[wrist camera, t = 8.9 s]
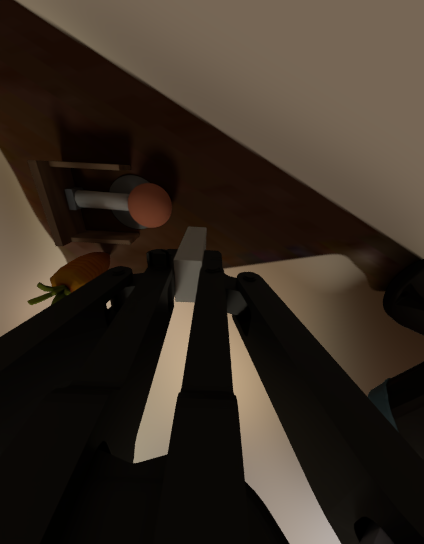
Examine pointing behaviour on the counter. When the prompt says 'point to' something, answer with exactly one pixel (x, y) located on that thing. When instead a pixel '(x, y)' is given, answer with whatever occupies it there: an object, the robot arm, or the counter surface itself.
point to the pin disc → (125, 187)
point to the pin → (95, 199)
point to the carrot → (74, 276)
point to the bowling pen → (53, 198)
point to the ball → (149, 205)
